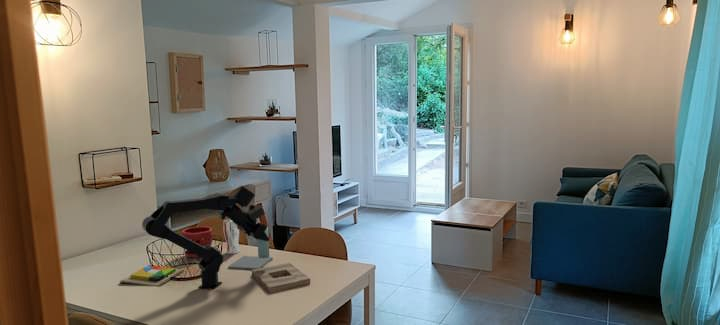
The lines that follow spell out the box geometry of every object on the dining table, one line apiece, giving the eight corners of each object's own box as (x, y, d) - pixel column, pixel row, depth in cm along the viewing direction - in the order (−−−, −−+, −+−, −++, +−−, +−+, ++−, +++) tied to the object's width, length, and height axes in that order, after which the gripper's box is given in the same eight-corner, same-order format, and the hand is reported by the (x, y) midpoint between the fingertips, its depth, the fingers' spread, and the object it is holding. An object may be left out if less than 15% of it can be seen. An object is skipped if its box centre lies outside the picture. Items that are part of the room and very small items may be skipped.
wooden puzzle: (161, 287, 194) (160, 278, 193) (118, 285, 197) (117, 276, 197) (185, 271, 210) (185, 263, 210) (145, 270, 214) (144, 262, 214)
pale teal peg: (269, 257, 202) (267, 228, 200) (258, 258, 201) (256, 229, 199) (269, 254, 206) (268, 226, 204) (258, 255, 205) (256, 226, 204)
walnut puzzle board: (310, 283, 191) (310, 278, 190) (269, 292, 183) (269, 287, 183) (289, 267, 210) (289, 262, 210) (252, 274, 202) (251, 270, 202)
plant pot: (208, 259, 224) (206, 232, 223) (179, 259, 225) (177, 233, 223) (217, 249, 237) (215, 225, 236) (190, 250, 238) (187, 226, 236)
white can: (242, 249, 236) (240, 218, 234) (237, 254, 229) (235, 222, 227) (228, 249, 237) (226, 218, 235) (223, 254, 230) (220, 222, 228)
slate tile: (258, 270, 207) (258, 268, 207) (228, 268, 211) (227, 266, 211) (272, 259, 221) (272, 257, 221) (243, 257, 224) (243, 255, 224)
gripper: (260, 203, 190) (288, 227, 198) (242, 196, 206) (268, 218, 213) (242, 227, 187) (271, 250, 195) (224, 218, 202) (252, 240, 210)
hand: (266, 238), depth 203 cm, fingers closed on pale teal peg, 4 cm apart
